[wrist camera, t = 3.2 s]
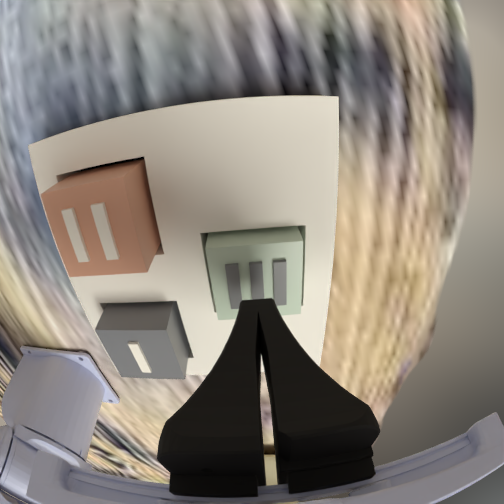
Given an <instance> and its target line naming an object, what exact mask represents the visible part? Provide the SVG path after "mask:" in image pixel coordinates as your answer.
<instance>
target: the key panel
mask: <svg viewBox="0 0 504 504" xmlns="http://www.w3.org/2000/svg"><path fill="white" fill-rule="evenodd" d="M28 148H29V153H30V158H31V162H32V167H33V171H34V175H35V179H36V183H37V187H38V190H39V194H40V198H41V194H42V193H43V192H45V191H46V190H48V189H49V188H50V187H52V186H53V185H55V184H56V183H58V182H60V181H61V180H63V179H64V178H66V177H67V176H69V175H71V174H73V173H78V172H81V171H80V169H84V168H89V167H93V166H98V165H102V164H107V163H112V162H117V161H122V160H127V159H133V158H138V157H144V159H145V165H146V170H147V176H148V181H149V186H150V192H151V197H152V202H153V206H154V211H155V216H156V220H157V225H158V229H159V234H160V238H161V243H160V245H159V248H158V250H157V252H156V254H155V256H154V259H153V261H152V263H151V265H150V268H149V270H148V272H147V273H131V274H115V275H98V276H80V277H69V279H70V281H71V283H72V286H73V288H74V290H75V292H76V295H77V297H78V299H79V301H80V303H81V305H82V307H83V309H84V311H85V313H86V315H87V317H88V319H89V321H90V323H91V325H92V327H93V329H94V331H95V328H96V326H97V323H98V321H99V319H100V317H101V315H102V313H103V311H104V309H105V307H106V305H107V303H129V302H159V301H177V304H178V308H179V311H180V315H181V318H182V321H183V325H184V328H185V331H186V335H187V338H188V341H189V344H190V349H189V355H188V362H187V369H186V375H208V374H209V373H210V371H211V370H212V368H213V366H214V365H215V363H216V361H217V360H218V358H219V356H220V354H221V353H222V351H223V349H224V346H225V344H226V342H227V340H228V338H229V336H230V334H231V331H232V329H233V326H234V323H235V320H236V319H230V320H218V317H217V312H216V306H215V301H214V296H213V290H212V285H211V279H210V274H209V268H208V262H207V256H206V250H205V247H206V242H207V237H208V232H219V231H232V230H244V229H257V228H271V227H285V226H298V229H299V231H300V234H301V236H302V239H303V273H302V299H301V314H294V315H283V316H282V318H283V320H284V321H285V323H286V325H287V326H288V328H289V329H290V331H291V333H292V334H293V336H294V337H295V338H296V340H297V341H298V342H299V344H300V345H301V346H302V348H303V349H304V350H305V351H306V353H307V354H308V355H309V356H310V357H311V358H312V359H313V361H314V362H315V363H316V364H317V365H318V366H320V361H321V354H322V348H323V341H324V334H325V327H326V320H327V312H328V304H329V295H330V286H331V276H332V266H333V255H334V243H335V229H336V213H337V194H338V164H339V102H338V97H336V96H322V95H283V96H258V97H243V98H230V99H220V100H211V101H203V102H195V103H188V104H181V105H175V106H169V107H163V108H157V109H152V110H147V111H142V112H137V113H133V114H128V115H124V116H119V117H115V118H111V119H107V120H103V121H100V122H96V123H92V124H89V125H85V126H82V127H79V128H75V129H72V130H69V131H66V132H63V133H60V134H57V135H54V136H51V137H48V138H45V139H43V140H40V141H38V142H35V143H33V144H30V145H28ZM41 201H42V198H41ZM42 204H43V201H42ZM43 208H44V205H43ZM44 211H45V208H44ZM45 214H46V211H45ZM46 217H47V215H46ZM47 220H48V218H47ZM48 224H49V221H48ZM49 227H50V224H49ZM50 229H51V227H50ZM51 232H52V230H51ZM52 235H53V233H52ZM53 238H54V236H53ZM54 241H55V238H54ZM55 244H56V241H55ZM56 246H57V244H56ZM57 249H58V247H57ZM58 252H59V249H58ZM59 254H60V252H59ZM60 257H61V255H60ZM61 259H62V257H61ZM62 262H63V260H62ZM63 264H64V262H63ZM64 267H65V265H64ZM65 269H66V267H65ZM66 272H67V270H66ZM67 274H68V272H67ZM68 276H69V274H68ZM95 333H96V331H95ZM96 335H97V333H96ZM97 337H98V335H97ZM98 339H99V337H98ZM99 340H100V339H99ZM100 342H101V341H100ZM101 344H102V343H101ZM102 346H103V344H102ZM103 348H104V346H103ZM104 349H105V348H104ZM105 351H106V350H105ZM106 353H107V352H106ZM107 355H108V353H107ZM108 356H109V355H108ZM109 358H110V357H109ZM110 360H111V358H110ZM111 361H112V360H111ZM112 363H113V362H112ZM113 365H114V364H113ZM114 366H115V365H114ZM115 368H116V367H115ZM116 370H117V369H116ZM117 371H118V370H117ZM261 372H265V371H264V366H263V361H262V355H261ZM118 373H119V372H118Z"/></svg>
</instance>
